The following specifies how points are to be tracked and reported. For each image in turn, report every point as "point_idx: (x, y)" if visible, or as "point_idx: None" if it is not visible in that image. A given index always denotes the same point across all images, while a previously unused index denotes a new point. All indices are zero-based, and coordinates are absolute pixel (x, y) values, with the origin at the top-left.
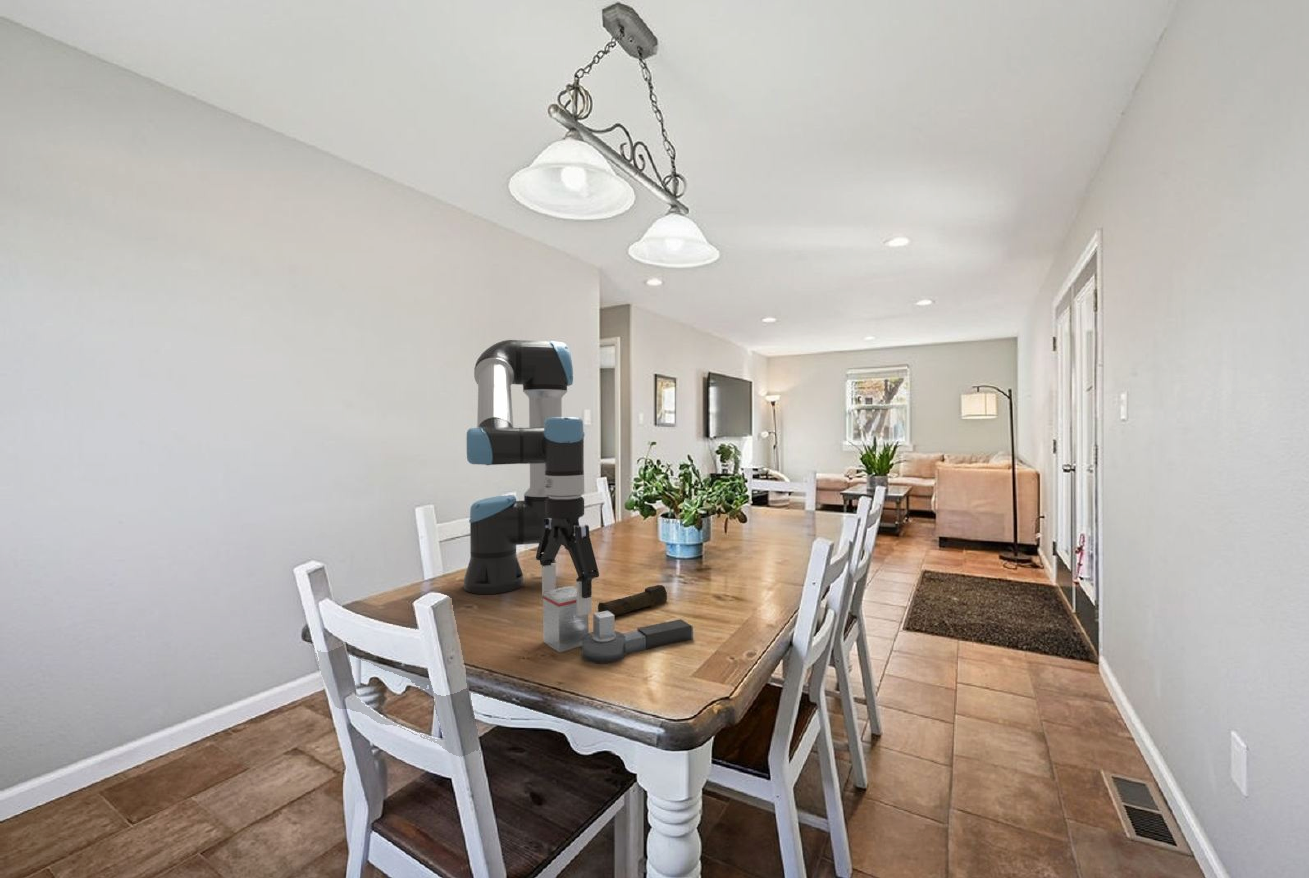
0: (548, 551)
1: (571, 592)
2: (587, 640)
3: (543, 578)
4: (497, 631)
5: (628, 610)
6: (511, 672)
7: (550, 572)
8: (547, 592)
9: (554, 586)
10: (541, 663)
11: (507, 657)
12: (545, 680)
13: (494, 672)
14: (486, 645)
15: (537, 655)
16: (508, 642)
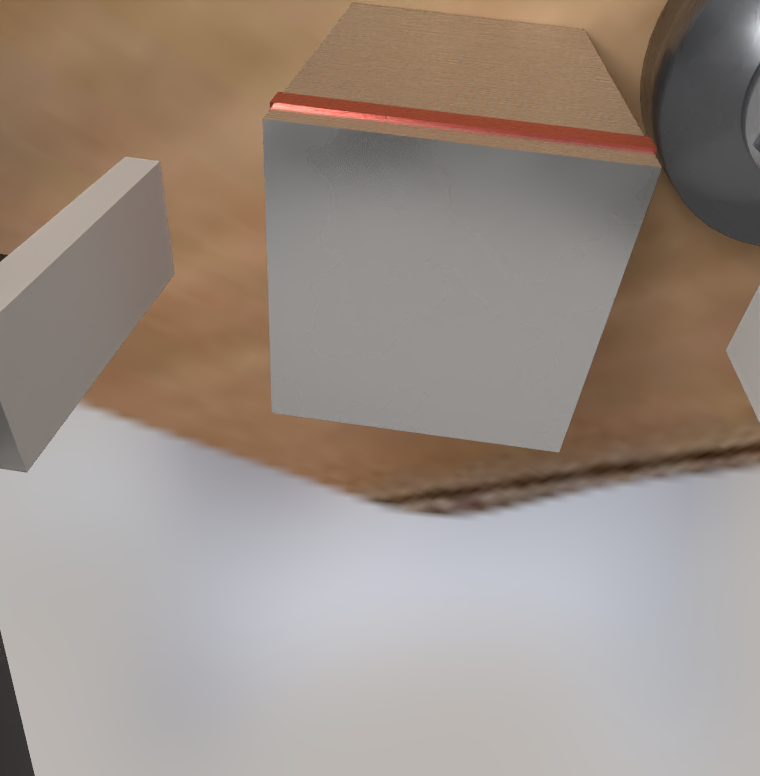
0: (12, 688)
1: (481, 274)
2: (746, 207)
3: (86, 377)
4: None
5: None
6: (523, 464)
7: (48, 344)
8: (314, 400)
9: (120, 215)
10: None
11: None
12: (699, 431)
13: (471, 493)
14: (207, 402)
15: None
16: (231, 331)
